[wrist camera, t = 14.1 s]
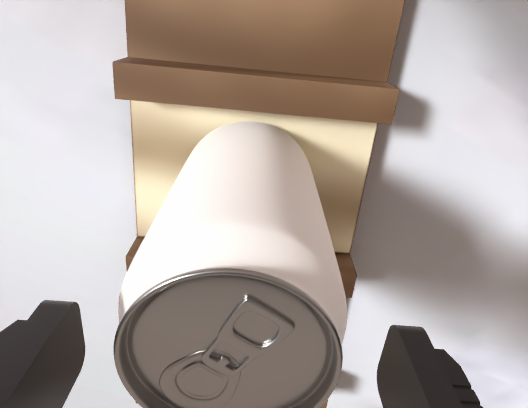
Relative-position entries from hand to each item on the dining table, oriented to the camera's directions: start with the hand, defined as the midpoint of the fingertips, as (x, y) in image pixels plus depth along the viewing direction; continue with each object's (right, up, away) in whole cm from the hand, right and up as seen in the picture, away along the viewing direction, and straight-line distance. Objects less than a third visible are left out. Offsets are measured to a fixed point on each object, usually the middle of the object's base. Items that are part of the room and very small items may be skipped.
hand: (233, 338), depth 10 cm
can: (0, +5, +10) cm, 11 cm away
